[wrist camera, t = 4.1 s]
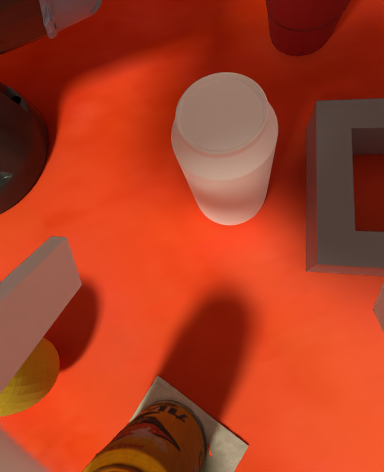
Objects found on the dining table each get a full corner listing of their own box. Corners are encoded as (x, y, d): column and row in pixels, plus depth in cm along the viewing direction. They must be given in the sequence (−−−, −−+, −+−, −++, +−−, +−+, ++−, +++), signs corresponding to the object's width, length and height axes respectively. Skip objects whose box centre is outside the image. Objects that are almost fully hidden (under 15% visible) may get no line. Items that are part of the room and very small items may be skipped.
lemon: (9, 378, 26) (-86, 406, 19) (39, 319, 27) (-40, 323, 20) (58, 409, 25) (-23, 454, 17) (88, 346, 26) (23, 362, 18)
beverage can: (184, 206, 28) (141, 133, 16) (220, 153, 28) (204, 45, 17) (241, 241, 26) (239, 186, 14) (279, 183, 27) (305, 87, 15)
